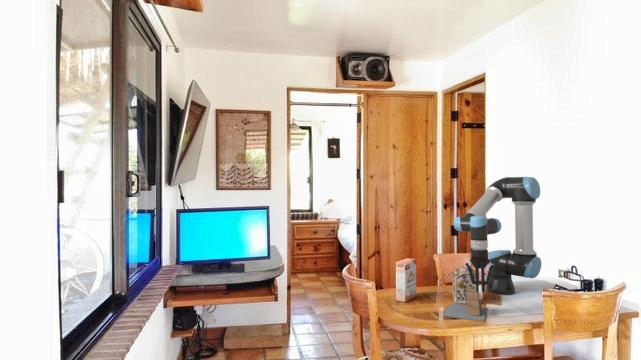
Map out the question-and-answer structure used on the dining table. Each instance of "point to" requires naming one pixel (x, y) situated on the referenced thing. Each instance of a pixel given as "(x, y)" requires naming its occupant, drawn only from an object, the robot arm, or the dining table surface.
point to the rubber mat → (464, 312)
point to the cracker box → (405, 279)
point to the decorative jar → (462, 284)
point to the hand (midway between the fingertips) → (480, 298)
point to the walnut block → (473, 302)
